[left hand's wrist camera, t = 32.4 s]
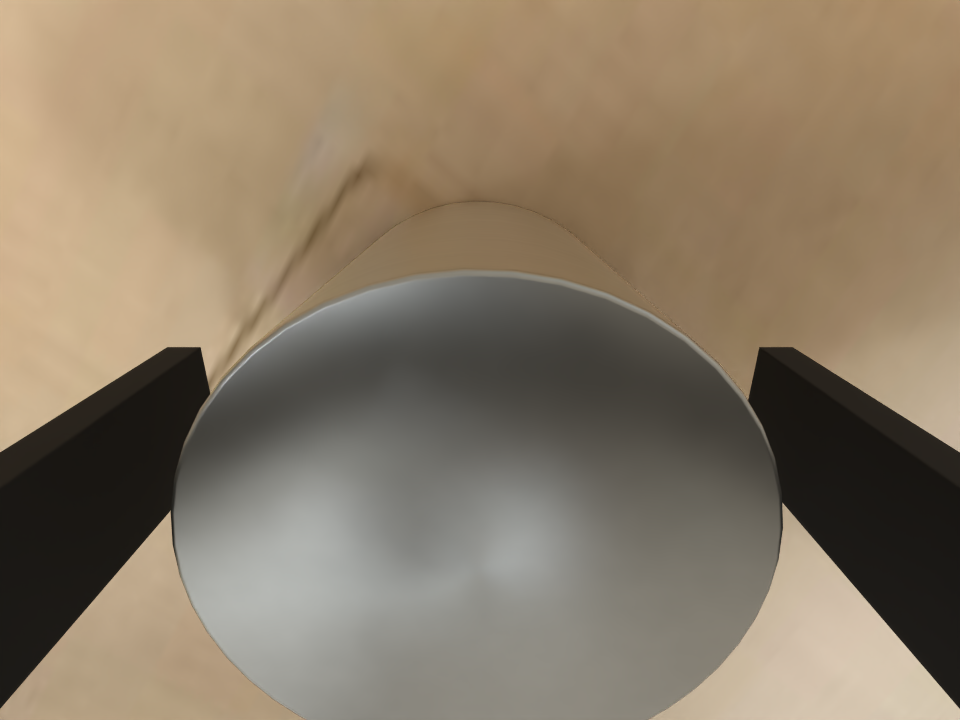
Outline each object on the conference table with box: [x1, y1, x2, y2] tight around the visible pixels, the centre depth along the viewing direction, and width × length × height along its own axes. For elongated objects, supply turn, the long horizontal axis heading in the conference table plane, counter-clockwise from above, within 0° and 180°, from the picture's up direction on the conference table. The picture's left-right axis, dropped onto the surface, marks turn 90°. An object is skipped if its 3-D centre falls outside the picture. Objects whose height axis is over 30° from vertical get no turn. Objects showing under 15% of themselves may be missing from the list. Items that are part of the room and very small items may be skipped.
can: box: [171, 201, 783, 720], centre depth 12 cm, size 8×8×9 cm
